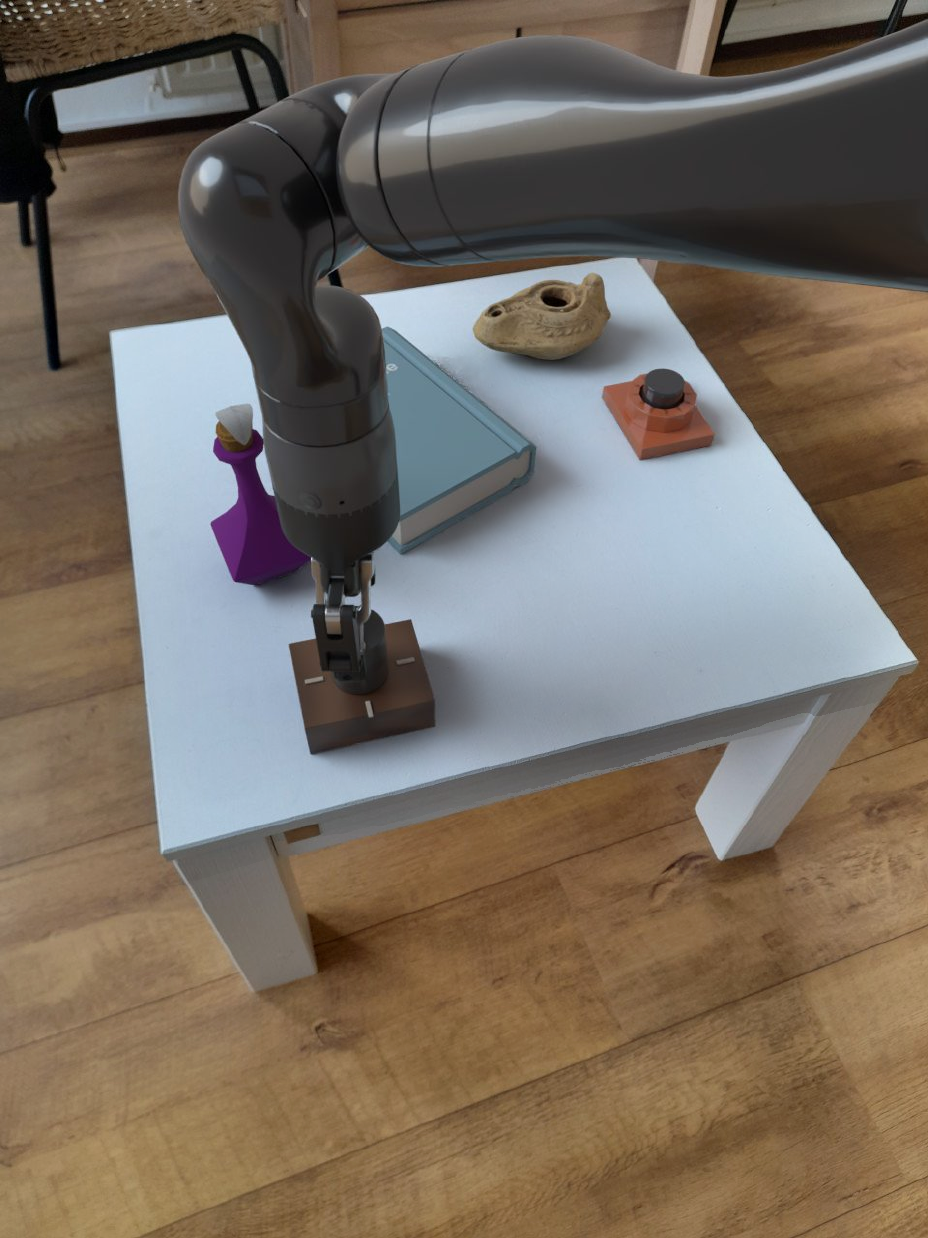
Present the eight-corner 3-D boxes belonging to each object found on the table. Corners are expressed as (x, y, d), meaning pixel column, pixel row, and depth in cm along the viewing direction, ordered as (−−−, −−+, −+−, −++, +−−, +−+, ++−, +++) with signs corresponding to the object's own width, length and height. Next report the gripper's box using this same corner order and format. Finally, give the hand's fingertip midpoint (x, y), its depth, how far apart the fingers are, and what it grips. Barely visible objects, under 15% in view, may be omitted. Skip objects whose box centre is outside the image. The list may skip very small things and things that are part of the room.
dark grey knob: (687, 406, 93) (692, 389, 91) (651, 413, 92) (654, 397, 90) (670, 381, 95) (674, 365, 94) (635, 388, 94) (638, 371, 93)
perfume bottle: (216, 546, 85) (170, 389, 70) (294, 522, 87) (265, 364, 72) (240, 605, 81) (196, 451, 66) (321, 578, 83) (296, 423, 68)
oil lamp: (456, 341, 103) (457, 277, 97) (566, 302, 108) (574, 239, 102) (509, 397, 98) (513, 333, 91) (622, 353, 103) (634, 289, 96)
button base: (711, 445, 94) (720, 418, 91) (639, 460, 92) (645, 433, 90) (670, 384, 100) (676, 357, 97) (601, 397, 98) (606, 370, 95)
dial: (326, 655, 73) (318, 610, 68) (380, 642, 74) (376, 597, 69) (338, 700, 70) (331, 657, 66) (394, 687, 71) (391, 643, 66)
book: (269, 422, 95) (262, 382, 91) (396, 362, 101) (394, 322, 97) (400, 554, 84) (398, 516, 80) (533, 478, 91) (537, 439, 87)
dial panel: (411, 644, 78) (410, 614, 75) (436, 729, 73) (436, 702, 70) (294, 668, 77) (287, 639, 73) (311, 758, 72) (304, 731, 68)
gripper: (389, 557, 50) (402, 712, 63) (404, 387, 59) (412, 554, 72) (251, 554, 50) (292, 710, 63) (286, 385, 59) (316, 553, 72)
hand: (356, 627), depth 68 cm, fingers open, 8 cm apart
